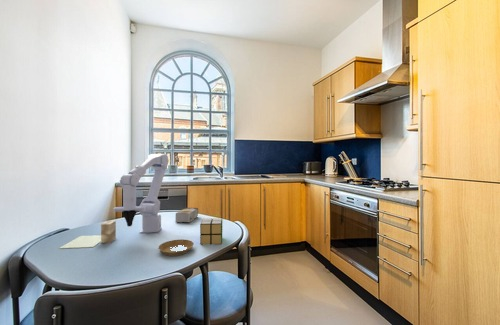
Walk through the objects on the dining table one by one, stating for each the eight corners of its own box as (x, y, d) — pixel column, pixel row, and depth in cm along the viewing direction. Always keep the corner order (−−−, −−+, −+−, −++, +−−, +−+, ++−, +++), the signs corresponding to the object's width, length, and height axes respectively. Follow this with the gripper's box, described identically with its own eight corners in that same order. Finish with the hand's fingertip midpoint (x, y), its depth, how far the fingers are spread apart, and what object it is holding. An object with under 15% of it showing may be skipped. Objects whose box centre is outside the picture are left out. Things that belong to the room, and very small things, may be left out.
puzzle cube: (202, 237, 118) (202, 218, 117) (222, 237, 118) (222, 218, 118) (200, 245, 108) (200, 223, 107) (221, 244, 108) (221, 223, 108)
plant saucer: (171, 261, 91) (171, 255, 91) (151, 252, 100) (151, 246, 100) (200, 249, 103) (200, 244, 103) (180, 242, 111) (180, 237, 111)
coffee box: (175, 212, 144) (185, 207, 160) (175, 222, 144) (185, 216, 160) (189, 213, 143) (198, 207, 159) (189, 223, 143) (198, 216, 159)
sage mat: (109, 235, 120) (109, 234, 120) (93, 247, 104) (93, 246, 104) (80, 236, 118) (80, 235, 118) (59, 248, 102) (59, 248, 102)
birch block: (115, 238, 116) (115, 220, 115) (110, 242, 110) (110, 224, 110) (107, 238, 115) (107, 220, 115) (101, 243, 109) (101, 224, 109)
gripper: (110, 200, 108) (110, 228, 109) (142, 199, 110) (142, 227, 111) (116, 197, 115) (116, 224, 116) (147, 197, 117) (147, 223, 118)
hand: (129, 225), depth 114 cm, fingers closed
